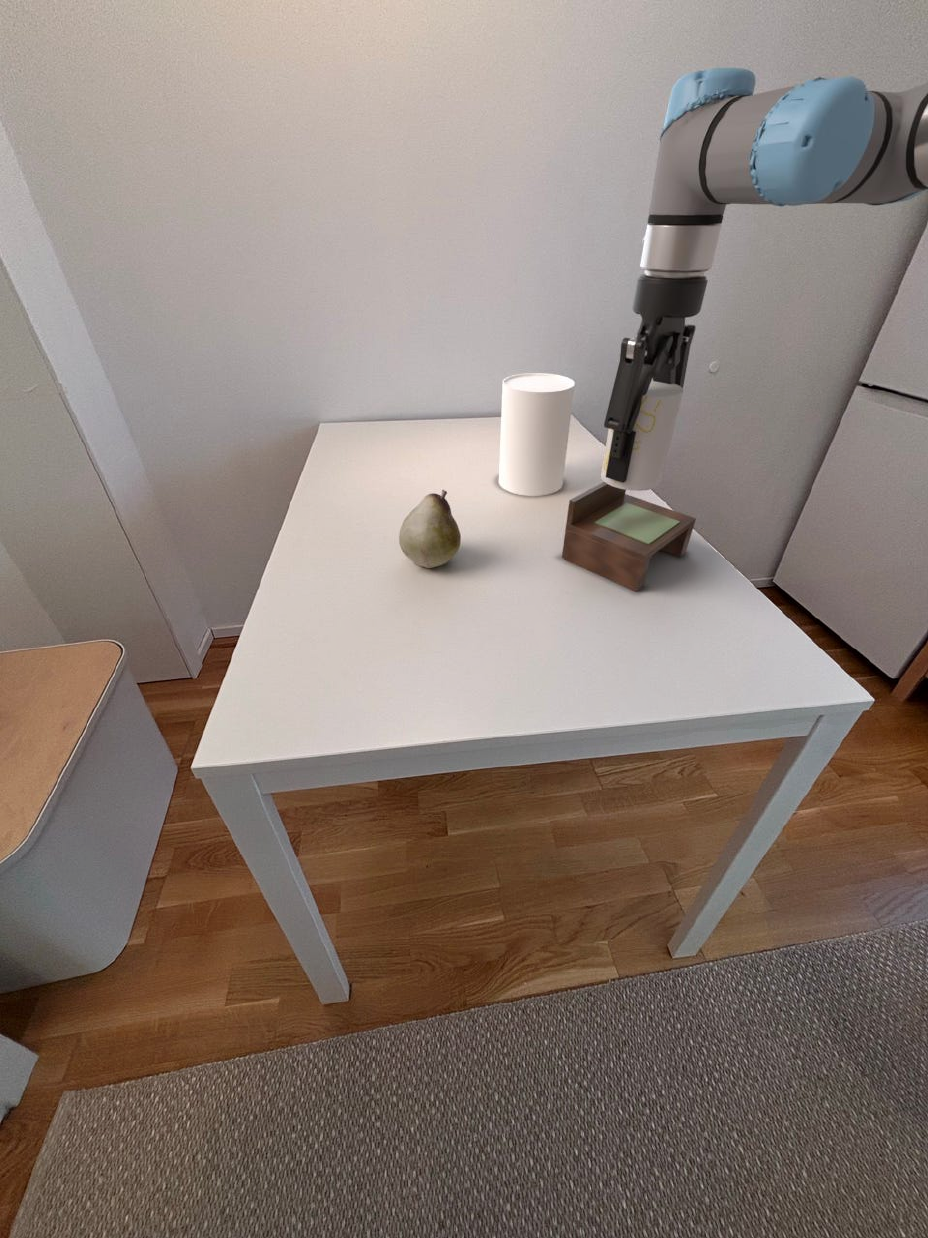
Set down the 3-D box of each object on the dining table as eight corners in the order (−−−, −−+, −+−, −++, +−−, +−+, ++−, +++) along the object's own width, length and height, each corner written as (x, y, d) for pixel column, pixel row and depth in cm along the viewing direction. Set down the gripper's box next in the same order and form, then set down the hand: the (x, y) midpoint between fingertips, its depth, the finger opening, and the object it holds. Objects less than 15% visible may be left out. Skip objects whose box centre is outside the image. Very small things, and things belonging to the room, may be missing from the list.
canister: (536, 464, 117) (544, 369, 105) (575, 486, 108) (589, 384, 96) (486, 477, 112) (488, 379, 99) (524, 501, 103) (531, 396, 90)
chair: (685, 552, 87) (703, 495, 81) (636, 592, 79) (651, 531, 72) (613, 525, 95) (624, 470, 88) (561, 558, 86) (569, 499, 80)
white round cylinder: (588, 473, 74) (602, 384, 66) (631, 462, 77) (649, 376, 69) (628, 495, 68) (648, 400, 61) (673, 482, 71) (697, 390, 64)
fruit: (472, 560, 86) (472, 493, 78) (432, 584, 80) (428, 514, 73) (428, 539, 91) (425, 475, 84) (388, 561, 86) (381, 493, 78)
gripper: (684, 264, 65) (645, 443, 79) (592, 278, 54) (566, 484, 68) (744, 268, 61) (692, 455, 75) (658, 284, 49) (616, 502, 64)
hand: (632, 469), depth 72 cm, fingers closed on white round cylinder, 8 cm apart
